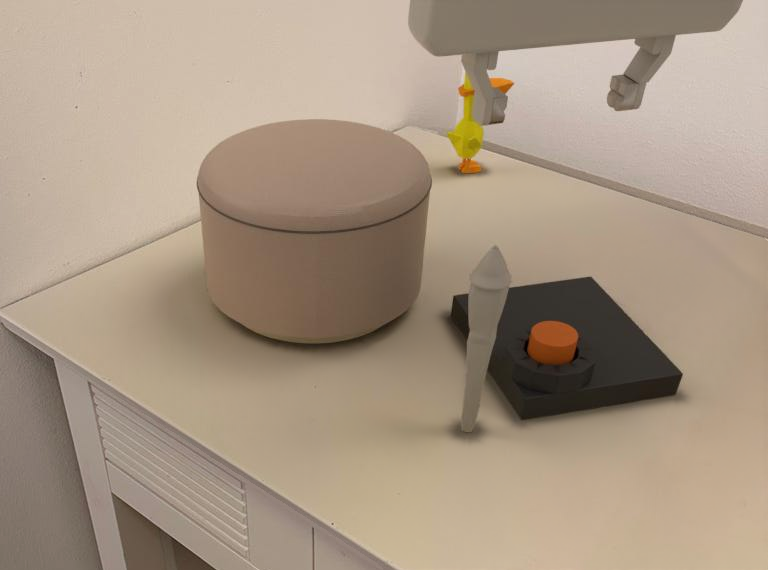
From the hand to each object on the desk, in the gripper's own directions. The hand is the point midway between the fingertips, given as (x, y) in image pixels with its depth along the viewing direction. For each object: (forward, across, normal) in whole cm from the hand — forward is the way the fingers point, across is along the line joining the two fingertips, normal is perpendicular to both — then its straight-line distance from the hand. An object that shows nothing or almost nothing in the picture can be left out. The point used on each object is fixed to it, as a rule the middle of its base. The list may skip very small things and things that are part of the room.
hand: (555, 114), depth 57 cm
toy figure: (+18, +10, +31) cm, 37 cm away
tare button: (+15, 0, -6) cm, 16 cm away
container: (+18, -13, +12) cm, 25 cm away
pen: (+18, -7, -8) cm, 21 cm away
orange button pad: (+18, +3, -2) cm, 18 cm away
